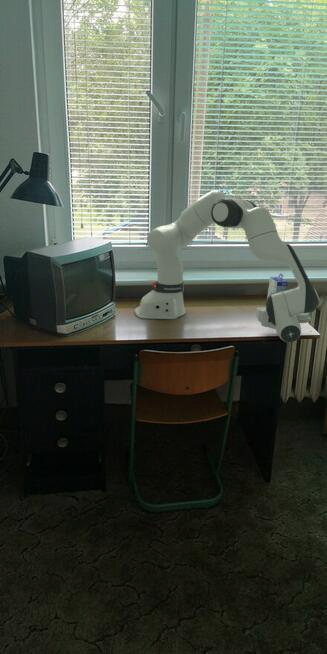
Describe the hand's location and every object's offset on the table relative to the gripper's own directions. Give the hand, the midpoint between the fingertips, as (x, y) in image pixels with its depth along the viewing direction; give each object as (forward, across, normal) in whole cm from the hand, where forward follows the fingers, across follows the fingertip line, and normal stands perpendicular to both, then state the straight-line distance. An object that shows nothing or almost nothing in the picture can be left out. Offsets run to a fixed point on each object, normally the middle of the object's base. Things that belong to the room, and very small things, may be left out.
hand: (280, 308), depth 200 cm
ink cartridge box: (+32, -3, +8) cm, 34 cm away
